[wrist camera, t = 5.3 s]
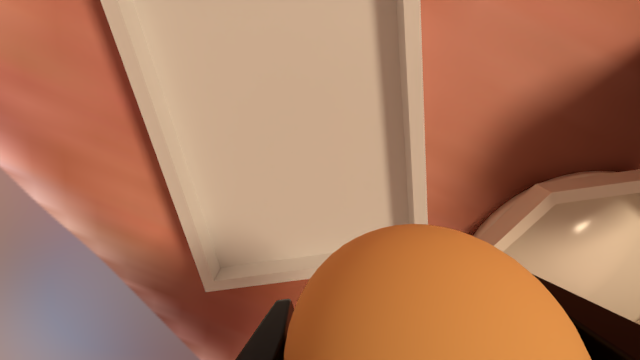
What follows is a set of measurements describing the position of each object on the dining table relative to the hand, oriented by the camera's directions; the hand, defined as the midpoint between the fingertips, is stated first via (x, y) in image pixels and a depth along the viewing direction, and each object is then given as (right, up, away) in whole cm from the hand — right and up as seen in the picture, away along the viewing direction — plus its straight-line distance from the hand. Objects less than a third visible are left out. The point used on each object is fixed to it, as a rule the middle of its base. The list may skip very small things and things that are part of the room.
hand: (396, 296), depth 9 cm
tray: (-4, +7, +10) cm, 13 cm away
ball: (0, -1, -2) cm, 2 cm away
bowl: (+16, -4, +14) cm, 21 cm away
